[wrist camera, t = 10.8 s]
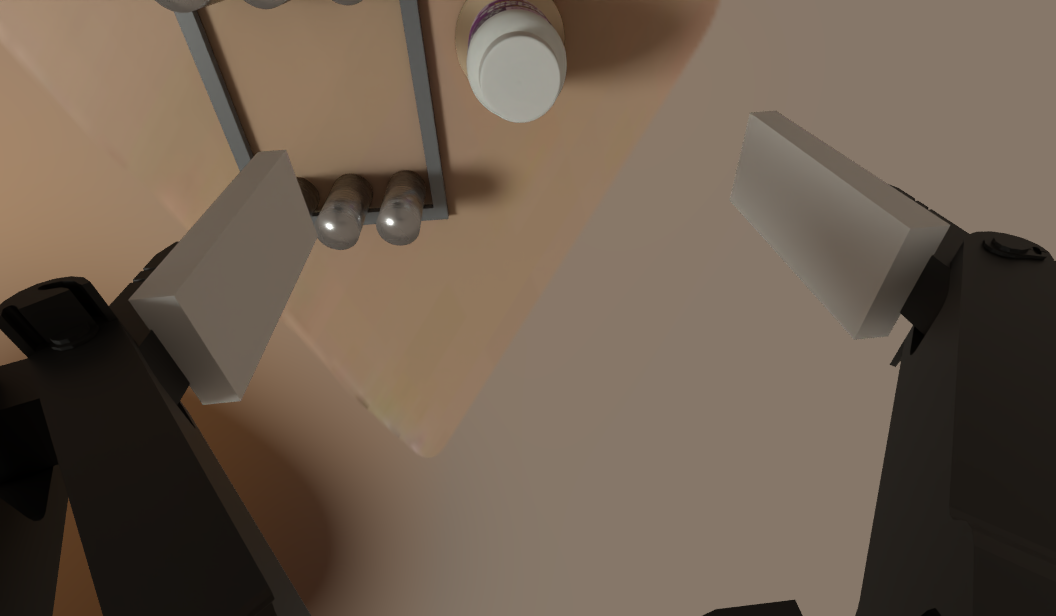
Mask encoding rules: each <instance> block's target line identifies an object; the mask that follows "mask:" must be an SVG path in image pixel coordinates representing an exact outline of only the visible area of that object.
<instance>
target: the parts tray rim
mask: <svg viewBox="0 0 1056 616" xmlns="http://www.w3.org/2000/svg"><path fill="white" fill-rule="evenodd" d="M399 1H400V7H401V13H402V19H403V25H404V31H405V37H406V43H407V49H408V55H409V61H410V68H411V74H412V80H413V86H414V92H415V98H416V104H417V110H418V116H419V122H420V128H421V134H422V141H423V147H424V153H425V159H426V165H427V171H428V177H429V183H430V189H431V195H432V201H433V205H424V207H423V213H422V219H421V221H425V220H439V219H448V217H449V214H448V207H447V200H446V193H445V187H444V180H443V173H442V166H441V159H440V152H439V145H438V138H437V131H436V124H435V117H434V111H433V104H432V97H431V90H430V83H429V76H428V69H427V62H426V55H425V48H424V42H423V35H422V28H421V21H420V14H419V7H418V0H399ZM174 13H175V15H176V18H177V20H178V23H179V25H180V27H181V30H182V32H183V35H184V37H185V40H186V42H187V44H188V47H189V49H190V52H191V54H192V56H193V59H194V61H195V64H196V66H197V68H198V71H199V73H200V76H201V78H202V81H203V83H204V85H205V88H206V90H207V93H208V95H209V97H210V100H211V102H212V105H213V107H214V110H215V112H216V114H217V117H218V119H219V122H220V124H221V126H222V129H223V131H224V134H225V136H226V139H227V141H228V143H229V146H230V148H231V151H232V153H233V155H234V158H235V160H236V163H237V165H238V167H239V170H240V172H241V171H242V169H243V168H244V167H245V166H246V165H247V164H248V163H249V162H250V160H251V159H252V158H253V154H252V152H251V149H250V146H249V144H248V141H247V139H246V136H245V134H244V131H243V128H242V126H241V123H240V121H239V118H238V116H237V113H236V110H235V108H234V105H233V103H232V100H231V98H230V95H229V92H228V90H227V87H226V85H225V82H224V80H223V77H222V74H221V72H220V69H219V67H218V64H217V62H216V59H215V56H214V54H213V51H212V49H211V46H210V44H209V41H208V38H207V36H206V33H205V31H204V28H203V26H202V23H201V20H200V18H199V15H198V13H197V10H194V11H191V12H188V13H179V12H174ZM379 212H380V208H377V209H368V212H367V215H366V218H365V221H364V224H363V225H368V224H376V222H377V218H378V215H379ZM319 213H320V212H318V213H313V215H312V217H311V219H312V222H313V225H314V224H315V221H316V219H317V217H318V215H319Z"/></svg>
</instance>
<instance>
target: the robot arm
mask: <svg viewBox="0 0 1056 616" xmlns="http://www.w3.org/2000/svg"><path fill="white" fill-rule="evenodd" d="M730 201H731V202H732V204H733V205H734V206H735V207H736V208H737V209H738V210H739V211H740V212H741V213H742V215H743V216H744V217H745V218H746V219H747V220H748V221H749V223H751V225H752V226H753V227H754V228H755V229H756V230H757V231H758V233H759V234H760V235H761V236H762V237H763V238H764V239H765V240H766V242H767V243H768V244H769V245H770V246H771V247H772V248H773V249H774V250H775V252H776V253H777V254H778V255H779V256H780V257H781V258H782V259H783V260H784V262H785V263H786V264H787V265H788V266H789V267H790V268H791V269H792V270H793V272H794V273H795V274H796V275H797V276H798V277H799V278H800V280H801V281H802V282H803V283H804V284H805V285H806V286H807V287H808V288H809V290H810V291H811V292H812V293H813V294H814V295H815V296H816V297H817V299H818V300H819V301H820V302H821V303H822V304H823V305H824V306H825V307H826V309H827V310H828V311H829V312H830V313H831V314H832V315H833V316H834V317H835V319H836V320H837V321H838V322H839V323H840V324H841V325H842V326H843V327H844V329H845V330H846V331H847V332H848V333H849V334H850V335H851V337H852V338H853V339H864V338H874V337H884V336H888V335H889V333H890V332H891V330H892V328H893V326H894V325H895V323H896V321H897V319H898V318H899V316H900V314H902V315H903V316H904V317H905V318H906V319H907V320H908V321H910V322H911V323H912V324H913V327H912V328H911V330H910V332H909V333H908V335H907V337H906V338H905V340H904V342H903V343H902V345H901V347H900V348H899V350H898V352H897V353H896V355H895V357H894V358H893V360H892V362H891V363H890V365H892V366H895V367H896V366H897V364H898V363H899V362H900V361H901V365H900V370H899V376H898V382H897V388H896V393H895V400H894V405H893V411H892V416H891V422H890V428H889V434H888V440H887V445H886V451H885V457H884V463H883V469H882V474H881V480H880V486H879V492H878V497H877V503H876V509H875V515H874V520H873V526H872V532H871V538H870V544H869V549H868V555H867V561H866V567H865V573H864V579H863V584H862V590H861V596H860V601H859V605H858V609H857V612H856V615H855V616H1056V261H1054V259H1053V258H1052V256H1051V255H1050V253H1049V252H1048V251H1047V250H1045V249H1044V248H1043V247H1041V246H1039V245H1037V244H1035V243H1033V242H1031V241H1028V240H1026V239H1023V238H1020V237H1017V236H1013V235H1009V234H1005V233H998V232H975V233H972V234H969V233H967V232H966V231H964V230H962V229H961V228H959V227H958V226H956V225H955V224H953V223H952V222H950V221H948V220H947V219H945V218H944V217H942V216H941V215H939V214H937V213H936V212H935V211H933V210H928V207H927V206H925V205H924V204H922V203H921V202H919V201H915V198H913V197H912V196H910V195H908V194H907V193H905V192H904V191H902V190H901V189H899V188H897V187H894V186H892V185H889V184H887V183H886V182H884V181H882V180H881V179H879V178H878V177H876V176H875V175H873V174H872V173H870V172H869V171H867V170H866V169H864V168H863V167H861V166H860V165H858V164H856V163H855V162H853V161H852V160H850V159H849V158H847V157H846V156H844V155H843V154H841V153H840V152H838V151H837V150H835V149H834V148H832V147H830V146H829V145H828V144H826V143H824V142H823V141H821V140H820V139H818V138H817V137H815V136H814V135H812V134H811V133H809V132H808V131H806V130H804V129H803V128H802V127H800V126H798V125H797V124H795V123H794V122H792V121H791V120H789V119H788V118H786V117H785V116H783V115H782V114H780V113H779V112H777V111H767V112H754V113H750V115H749V120H748V124H747V129H746V133H745V137H744V141H743V145H742V150H741V154H740V158H739V162H738V167H737V171H736V176H735V180H734V184H733V188H732V193H731V197H730ZM317 237H318V236H317V233H316V230H315V227H314V225H313V222H312V219H311V217H310V214H309V211H308V208H307V206H306V203H305V200H304V197H303V195H302V192H301V189H300V187H299V184H298V181H297V178H296V176H295V173H294V170H293V167H292V165H291V162H290V159H289V156H288V154H287V151H286V150H277V151H264V152H257V154H256V155H255V156H254V157H253V158H252V159H251V160H250V162H249V163H248V164H247V165H246V166H245V167H244V168H243V169H242V171H241V172H240V173H239V174H238V175H237V176H236V177H235V179H234V180H233V181H232V182H231V183H230V184H229V185H228V187H227V188H226V189H225V190H224V191H223V192H222V193H221V195H220V196H219V197H218V198H217V199H216V200H215V201H214V203H213V204H212V205H211V206H210V207H209V208H208V209H207V211H206V212H205V213H204V214H203V215H202V216H201V217H200V219H199V220H198V221H197V222H196V223H195V224H194V225H193V227H192V228H191V229H190V230H189V231H188V232H187V234H186V235H185V236H184V237H183V238H182V239H181V240H180V241H179V242H175V243H173V244H172V245H170V246H169V247H167V248H166V249H164V250H163V251H161V252H159V253H158V254H156V255H155V256H154V257H153V258H152V259H151V261H150V262H149V263H148V264H147V265H146V266H145V267H144V268H143V269H144V271H141V272H140V273H139V274H138V275H137V276H136V277H135V278H134V279H133V283H130V284H129V285H128V286H127V287H126V288H125V289H124V290H123V291H122V293H120V295H119V296H118V297H117V298H116V299H115V300H114V301H113V302H112V303H111V304H110V306H108V305H107V303H106V302H105V301H104V299H103V298H102V297H101V296H100V294H99V293H98V292H97V290H96V289H95V288H94V286H93V285H92V284H91V282H90V281H88V280H87V279H85V278H84V277H72V276H71V277H64V278H57V279H52V280H49V281H46V282H42V283H39V284H36V285H34V286H31V287H29V288H27V289H25V290H22V291H20V292H18V293H16V294H15V295H13V296H12V297H10V298H8V299H7V300H5V301H4V302H3V303H2V304H0V329H1V330H2V331H3V332H4V333H5V334H6V335H7V336H8V338H9V339H11V341H12V342H13V343H14V344H15V345H16V346H17V347H18V348H19V349H20V350H21V351H22V352H23V353H24V354H25V355H26V356H27V357H28V358H27V359H24V360H20V361H17V362H13V363H10V364H6V365H2V366H0V616H52V614H53V607H54V600H55V592H56V584H57V577H58V570H59V562H60V555H61V547H62V540H63V532H64V525H65V517H66V510H67V503H68V497H69V501H70V504H71V507H72V511H73V514H74V518H75V521H76V525H77V528H78V532H79V535H80V538H81V542H82V545H83V548H84V552H85V555H86V559H87V562H88V566H89V569H90V572H91V576H92V579H93V583H94V586H95V590H96V593H97V597H98V600H99V603H100V607H101V610H102V614H103V616H311V615H310V613H309V611H308V610H307V608H306V606H305V605H304V603H303V601H302V600H301V598H300V597H299V595H298V593H297V591H296V590H295V588H294V586H293V585H292V583H291V582H290V580H289V578H288V577H287V575H286V573H285V572H284V570H283V568H282V567H281V565H280V563H279V562H278V560H277V558H276V557H275V555H274V553H273V552H272V550H271V548H270V547H269V545H268V543H267V542H266V540H265V538H264V537H263V535H262V533H261V532H260V530H259V529H258V527H257V525H256V523H255V522H254V520H253V518H252V517H251V515H250V513H249V512H248V510H247V509H246V507H245V505H244V503H243V502H242V500H241V498H240V497H239V495H238V493H237V492H236V490H235V489H234V487H233V485H232V484H231V482H230V480H229V479H228V477H227V475H226V474H225V472H224V470H223V469H222V467H221V465H220V464H219V462H218V460H217V459H216V457H215V455H214V454H213V452H212V450H211V449H210V447H209V446H208V444H207V442H206V440H205V439H204V437H203V436H202V434H201V432H200V430H199V429H198V427H197V426H196V424H195V422H194V420H193V419H192V417H191V415H190V414H189V412H188V411H187V410H186V408H185V407H184V406H183V404H182V403H181V401H180V400H181V398H182V396H183V395H184V393H185V391H186V390H187V388H188V386H190V387H191V388H192V390H193V391H194V392H195V394H196V395H197V397H198V398H199V399H200V401H201V402H202V404H203V405H204V404H215V403H225V402H235V401H241V400H242V397H243V395H244V393H245V391H246V389H247V387H248V384H249V382H250V380H251V378H252V376H253V374H254V371H255V370H256V367H257V365H258V363H259V361H260V359H261V357H262V355H263V352H264V350H265V348H266V346H267V344H268V342H269V340H270V337H271V335H272V333H273V331H274V329H275V327H276V325H277V322H278V320H279V318H280V316H281V314H282V312H283V310H284V307H285V305H286V303H287V301H288V299H289V297H290V295H291V292H292V290H293V288H294V286H295V284H296V282H297V280H298V277H299V275H300V273H301V271H302V269H303V267H304V265H305V262H306V260H307V258H308V256H309V254H310V252H311V250H312V247H313V245H314V243H315V241H316V239H317ZM703 616H802V614H801V611H800V609H799V607H798V605H797V603H796V601H795V600H789V601H781V602H773V603H764V604H757V605H748V606H740V607H731V608H723V609H716V610H714V611H712V612H709V613H707V614H705V615H703Z"/></svg>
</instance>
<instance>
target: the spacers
mask: <svg viewBox="0 0 1056 616" xmlns="http://www.w3.org/2000/svg"><path fill="white" fill-rule="evenodd" d="M155 1H156V2H158V3H159V4H160V5H162V6H163V7H165V8H167V9H169V10H171V11H174V12H179V13H188V12H191V11H194V10H197V9H200V8H203V7H206V6H209V5H212V4H215V3H218V2H221V1H224V0H155ZM244 1H246V2H247V3H249V4H250V5H252V6H254V7H257V8H261V9H272V8H275V7H277V6H279V5H281V4H284V3H286V2H288V1H290V0H244ZM332 1H334V2H336V3H339V4H342V5H354V4H357V3H359V2H361V1H362V0H332ZM297 181H298V184H299V187H300V189H301V192H302V195H303V197H304V200H305V203H306V206H307V208H308V211H309V214H310V217H312V215H313V213H314V211H315V209H316V207H317V205H318V203H319V194H318V192H317V190H316V188H315V187H314V186H313V185H312V184H311V183H309V182H308V181H306V180H304V179H301V178H297ZM425 194H426V186H425V183H424V181H423V179H422V178H421V177H420V176H419V175H418V174H416V173H414V172H412V171H407V170H403V171H399V172H396V173H395V174H393V175H392V176H391V178H390V180H389V182H388V186H387V189H386V192H385V195H384V199H383V202H382V205H381V208H380V212H379V215H378V218H377V222H376V228H377V231H378V233H379V235H380V236H381V237H382V238H383V239H384V240H385V241H387V242H388V243H391V244H394V245H407V244H410V243H412V242H413V241H414V240H415V239H416V238H417V237H418V235H419V231H420V225H421V219H422V213H423V207H424V200H425ZM372 197H373V191H372V188H371V186H370V184H369V183H368V182H367V181H366V180H365V179H364V178H362V177H361V176H358V175H355V174H346V175H343V176H341V177H339V178H338V179H337V180H336V182H335V184H334V186H333V188H332V190H331V192H330V194H329V196H328V198H327V200H326V202H325V204H324V206H323V208H322V210H321V211H320V213H319V215H318V217H317V219H316V221H315V224H314V227H315V230H316V233H317V236H318V237H317V238H318V239H319V240H320V241H321V242H322V243H323V244H324V245H326V246H327V247H330V248H332V249H337V250H344V249H348V248H350V247H352V246H354V245H355V244H356V242H357V240H358V238H359V235H360V232H361V229H362V226H363V224H364V221H365V218H366V215H367V212H368V209H369V206H370V203H371V201H372Z"/></svg>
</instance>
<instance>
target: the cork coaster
mask: <svg viewBox="0 0 1056 616" xmlns="http://www.w3.org/2000/svg"><path fill="white" fill-rule="evenodd" d="M492 1H494V0H467V1H466V2H465V4H464V5H463V7H462V9H461V12H460V14H459V17H458V20H457V25H456V32H455V46H456V52H457V56H458V60H459V63H460V65H461V68H462V70H463V71H464V73H465V75H466V76H467V78H468V74H467V65H466V60H467V50H468V39H469V33H470V29H471V26H472V23H473V21H474V19H475V17H476V16H477V14H478V13H479V12H480V10H482V8H484V7H485V6H486V5H487V4H489V3H490V2H492ZM526 1H528V2H530V3H532V4H533V5H535V6H536V7H537V8H538V9H539V10H540V11H541V12H542V13H543V14H544V15H545V16H546V18H547V19H548V21H549V22H550V23H551V24H552V26H553V27H554V28H555V30H556V31H557V33H558V34H559V36H560V38H561V40H562V42H563V45H565V33H564V27H563V22H562V19H561V16H560V13H559V11H558V9H557V7H556V5H555V4H554V2H553V1H552V0H526Z"/></svg>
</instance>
